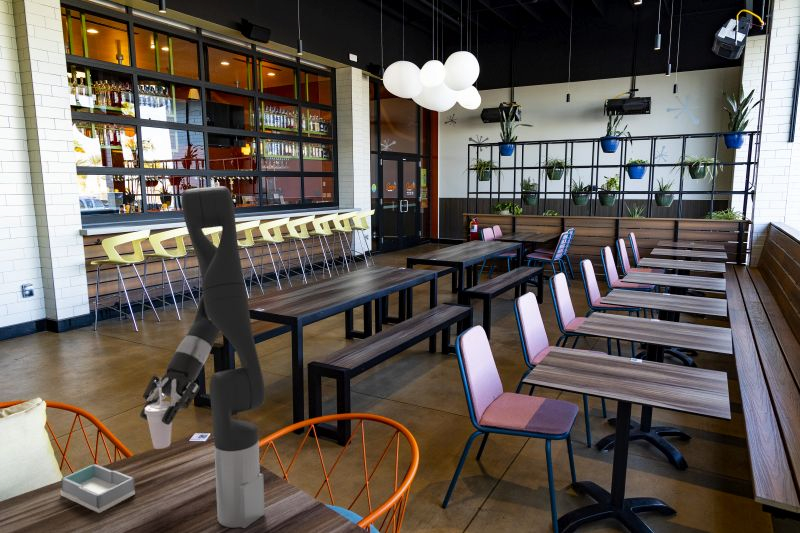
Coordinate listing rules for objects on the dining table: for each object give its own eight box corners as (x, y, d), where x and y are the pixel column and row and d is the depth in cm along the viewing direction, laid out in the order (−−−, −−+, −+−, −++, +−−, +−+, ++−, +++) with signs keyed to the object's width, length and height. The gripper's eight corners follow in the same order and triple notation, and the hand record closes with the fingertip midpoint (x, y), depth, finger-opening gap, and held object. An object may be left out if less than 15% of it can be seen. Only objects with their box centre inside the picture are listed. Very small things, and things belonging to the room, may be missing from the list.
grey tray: (135, 493, 127) (134, 478, 126) (99, 513, 119) (97, 496, 119) (97, 478, 134) (96, 463, 133) (60, 495, 126) (59, 479, 126)
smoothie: (169, 451, 124) (165, 393, 123) (141, 451, 124) (137, 393, 123) (181, 439, 131) (177, 383, 129) (155, 439, 131) (151, 384, 129)
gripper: (159, 347, 135) (121, 409, 125) (203, 353, 129) (166, 419, 119) (177, 362, 140) (142, 422, 131) (220, 368, 134) (186, 432, 125)
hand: (154, 420), depth 125 cm, fingers closed on smoothie, 6 cm apart
